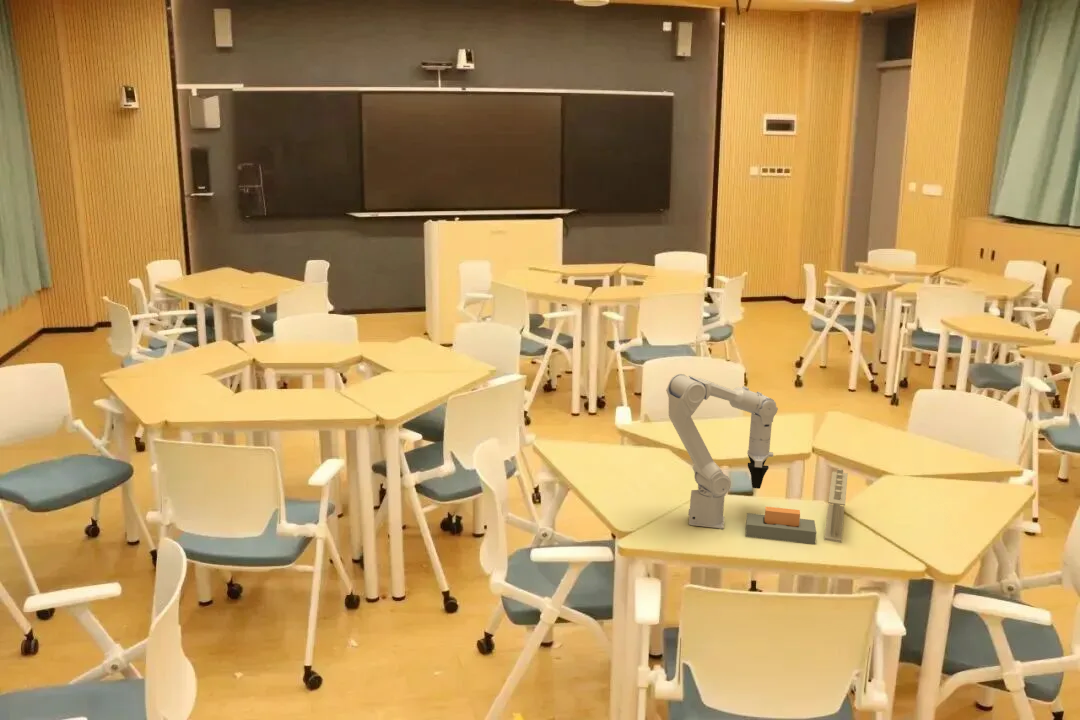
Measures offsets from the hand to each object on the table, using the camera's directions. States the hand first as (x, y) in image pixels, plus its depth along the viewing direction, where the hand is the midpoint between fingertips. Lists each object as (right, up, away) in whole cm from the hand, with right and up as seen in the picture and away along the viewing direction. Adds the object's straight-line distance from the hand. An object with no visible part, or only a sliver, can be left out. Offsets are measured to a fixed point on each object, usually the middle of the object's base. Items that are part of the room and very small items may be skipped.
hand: (756, 483), depth 257 cm
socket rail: (+4, -13, -10) cm, 16 cm away
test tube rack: (+22, -11, -1) cm, 25 cm away
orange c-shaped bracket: (+4, -12, -10) cm, 16 cm away
